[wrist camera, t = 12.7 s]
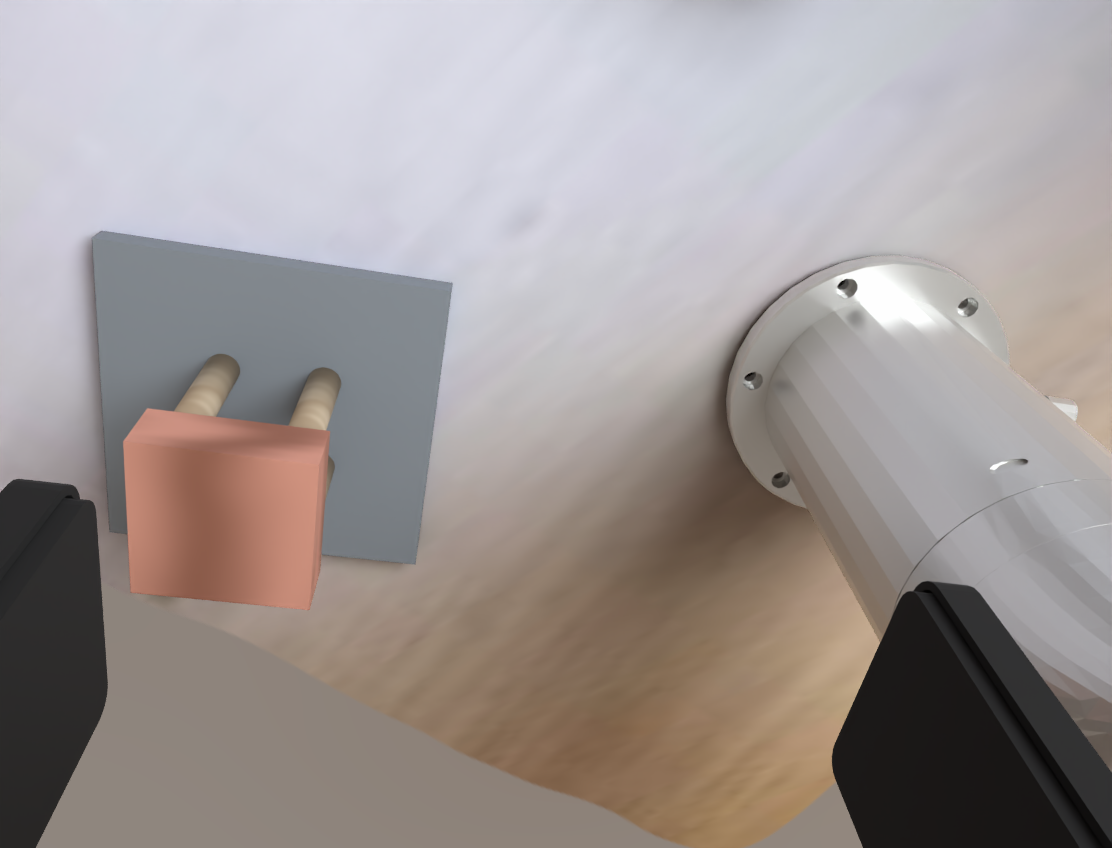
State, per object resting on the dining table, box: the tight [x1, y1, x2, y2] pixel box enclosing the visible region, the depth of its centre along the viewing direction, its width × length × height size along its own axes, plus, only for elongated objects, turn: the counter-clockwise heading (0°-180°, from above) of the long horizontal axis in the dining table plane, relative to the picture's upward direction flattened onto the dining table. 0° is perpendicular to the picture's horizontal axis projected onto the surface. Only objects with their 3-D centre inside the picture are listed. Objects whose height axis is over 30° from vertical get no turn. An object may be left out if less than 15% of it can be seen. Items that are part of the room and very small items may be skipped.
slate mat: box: [92, 231, 452, 564], centre depth 40 cm, size 14×14×1 cm
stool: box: [123, 354, 341, 610], centre depth 36 cm, size 6×6×8 cm
